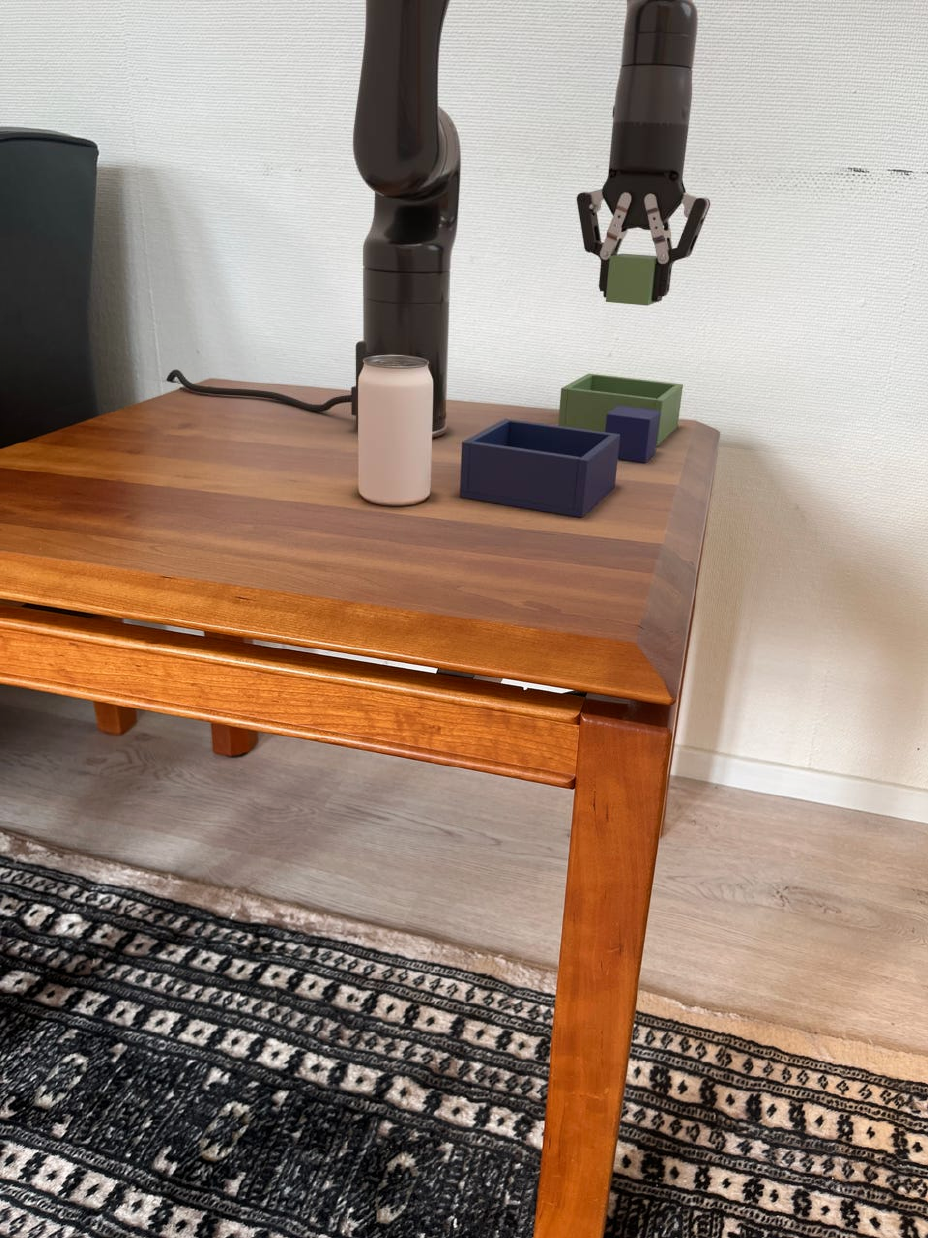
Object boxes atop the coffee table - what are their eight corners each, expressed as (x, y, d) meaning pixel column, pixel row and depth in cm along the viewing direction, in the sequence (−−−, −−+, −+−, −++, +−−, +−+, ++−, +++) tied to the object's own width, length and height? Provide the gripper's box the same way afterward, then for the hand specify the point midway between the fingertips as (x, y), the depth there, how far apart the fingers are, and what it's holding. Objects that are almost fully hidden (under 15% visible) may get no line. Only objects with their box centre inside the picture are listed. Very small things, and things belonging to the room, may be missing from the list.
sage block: (605, 301, 104) (609, 255, 102) (617, 297, 108) (621, 253, 106) (648, 305, 103) (653, 258, 101) (658, 301, 107) (663, 256, 105)
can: (420, 510, 85) (424, 369, 80) (349, 502, 86) (348, 363, 82) (437, 489, 91) (441, 357, 86) (370, 482, 92) (370, 351, 87)
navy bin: (459, 497, 89) (461, 441, 87) (502, 469, 98) (504, 418, 96) (582, 517, 85) (587, 460, 83) (614, 486, 94) (620, 434, 92)
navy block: (602, 456, 104) (606, 413, 102) (614, 447, 108) (618, 405, 106) (645, 463, 102) (650, 419, 100) (655, 453, 106) (660, 410, 104)
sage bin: (557, 432, 113) (560, 387, 111) (584, 414, 122) (588, 373, 120) (657, 446, 109) (662, 400, 107) (677, 427, 118) (683, 384, 116)
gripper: (730, 123, 99) (706, 301, 106) (593, 120, 104) (579, 290, 111) (715, 119, 93) (691, 308, 100) (570, 116, 98) (557, 296, 105)
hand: (632, 298), depth 105 cm, fingers closed on sage block, 4 cm apart
